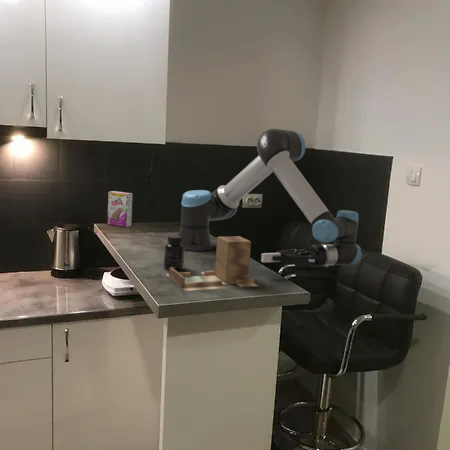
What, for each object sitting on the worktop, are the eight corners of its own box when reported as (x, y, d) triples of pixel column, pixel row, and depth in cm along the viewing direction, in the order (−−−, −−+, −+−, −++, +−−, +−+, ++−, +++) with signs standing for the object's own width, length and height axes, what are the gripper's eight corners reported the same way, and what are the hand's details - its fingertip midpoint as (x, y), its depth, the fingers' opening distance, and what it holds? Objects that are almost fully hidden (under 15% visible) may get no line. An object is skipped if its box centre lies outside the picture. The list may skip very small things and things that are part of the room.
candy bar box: (106, 224, 243) (107, 191, 241) (112, 223, 248) (113, 190, 245) (126, 227, 239) (127, 193, 237) (131, 226, 244) (133, 193, 241)
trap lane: (232, 273, 170) (233, 262, 170) (257, 288, 154) (258, 276, 154) (165, 277, 160) (166, 265, 160) (185, 294, 144) (186, 280, 144)
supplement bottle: (163, 268, 171) (165, 233, 169) (183, 269, 172) (185, 234, 170) (162, 273, 164) (164, 237, 162) (183, 274, 165) (185, 239, 163)
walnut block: (236, 274, 165) (239, 236, 163) (247, 281, 158) (251, 241, 156) (214, 275, 162) (217, 236, 160) (225, 282, 155) (228, 242, 153)
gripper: (331, 270, 169) (271, 274, 158) (309, 261, 180) (252, 264, 170) (333, 249, 167) (273, 251, 157) (311, 240, 179) (253, 242, 169)
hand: (262, 257), depth 164 cm, fingers closed
